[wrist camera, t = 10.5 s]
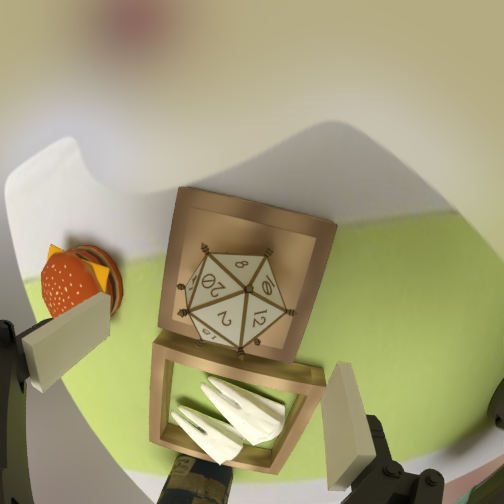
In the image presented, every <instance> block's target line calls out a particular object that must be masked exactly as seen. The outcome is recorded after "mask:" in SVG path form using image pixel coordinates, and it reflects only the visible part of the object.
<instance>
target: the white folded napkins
mask: <svg viewBox="0 0 504 504" xmlns="http://www.w3.org/2000/svg"><path fill="white" fill-rule="evenodd" d="M208 380H209V381H210V382H211V383H212V384H213V385H214V386H215V387H216V388H218V389H219V390H220V391H221V393H219V392H217V391H215V390H213V389H212V388H210V387H209V386H208V385H207V384H205V383H204V382H201V384H200V387H201V389H202V390H203V391H204V393H205V394H206V396H207V397H208V398H209V399H210V401H211V402H212V403H213V404H214V405H215V407H216V408H217V409H218V410H219V411H220V412H221V413H222V415H223V416H224V417H225V418H226V419H227V420H228V421H229V422H230V423H231V424H232V425H230V424H228V423H225V422H223V421H220V420H218V419H215V418H212V417H210V416H208V415H205V414H203V413H200V412H198V411H196V410H193V409H191V408H188V407H185V406H182V405H179V406H178V409H179V410H180V411H181V412H182V413H183V414H184V415H185V416H187V417H188V418H189V419H191V420H192V421H193V422H195V423H196V424H197V425H198V426H200V427H195V426H194V425H193V424H191V423H190V422H188V421H187V420H186V419H184V418H183V417H182V416H181V415H179V414H178V413H177V412H175V411H174V410H172V411H171V415H172V416H173V418H174V419H175V420H176V421H177V423H178V424H179V425H180V426H181V427H182V428H183V430H184V431H185V432H186V433H187V434H188V435H189V436H190V437H191V438H192V439H193V440H194V441H195V442H196V443H197V444H198V445H199V446H200V447H201V448H202V449H203V450H204V451H205V452H206V453H207V454H208V455H209V456H210V457H212V458H213V459H214V460H215V461H216V462H217V463H218V464H219V465H221V463H223V462H225V461H227V460H232V459H233V458H234V457H236V456H237V455H238V453H239V452H240V450H241V449H242V448H243V445H242V444H243V441H244V439H245V438H246V439H247V440H248V441H249V442H250V443H251V444H252V445H253V446H254V445H256V444H258V443H261V442H264V441H269V440H272V439H273V438H275V437H276V436H278V435H279V434H280V432H281V431H282V429H283V427H284V422H285V409H286V408H285V406H284V405H282V404H280V403H277V402H275V401H272V400H270V399H267V398H265V397H262V396H260V395H257V394H255V393H252V392H250V391H248V390H245V389H243V388H240V387H238V386H236V385H233V384H231V383H229V382H226V381H224V380H221V379H218V378H216V377H213V376H209V377H208Z"/></svg>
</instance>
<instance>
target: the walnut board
mask: <svg viewBox="0 0 504 504" xmlns="http://www.w3.org/2000/svg"><path fill="white" fill-rule="evenodd" d="M337 226H338V225H337V224H335V223H334V222H331V221H328V220H324V219H321V218H317V217H313V216H309V215H306V214H302V213H298V212H294V211H290V210H286V209H282V208H278V207H274V206H270V205H266V204H262V203H258V202H254V201H250V200H245V199H241V198H237V197H232V196H228V195H224V194H219V193H215V192H210V191H205V190H201V189H196V188H191V187H179V188H178V193H177V198H176V203H175V209H174V214H173V219H172V225H171V231H170V237H169V243H168V249H167V256H166V262H165V269H164V276H163V284H162V292H161V300H160V308H159V318H158V327H160V328H163V329H166V330H169V331H172V332H175V333H178V334H181V335H184V336H187V337H191V338H194V339H197V340H199V339H200V336H199V334H198V333H197V331H196V329H195V327H194V325H193V323H192V321H191V319H190V317H189V315H188V314H187V315H186V317H185V316H183V318H182V317H181V316H179V315H177V313H178V312H179V309H187V308H186V299H185V290H178V288H177V287H176V285H178V284H180V283H181V284H184V285H185V286H186V284H187V283H188V281H189V279H190V278H191V276H192V275H193V273H194V272H195V270H196V269H197V267H198V265H199V264H200V262H201V261H202V259H203V258H204V256H205V253H204V252H202V249H201V244H202V243H204V244H206V245H207V246H208V248H209V252H218V253H225V252H228V253H239V254H260V255H264V254H265V252H266V250H267V248H270V247H273V246H274V248H273V252H274V253H272V254H271V255H270V256H269V257H268V259H269V262H270V265H271V267H272V270H273V273H274V275H275V278H276V281H277V284H278V286H279V289H280V292H281V295H282V297H283V300H284V303H285V305H286V308H287V309H288V310H289V309H291V310H294V309H295V311H296V312H297V313H298V314H297V315H295V316H293V317H292V316H289V315H288V314H285V315H284V316H283V317H282V318H280V319H279V320H278V321H277V322H276V323H275V324H273V325H272V326H271V327H270V328H269V329H268V330H266V331H265V332H264V333H263V334H262V335H261V336H259V337H258V339H260V341H261V343H260V346H257V345H255V343H254V341H253V342H252V343H250V344H249V345H247V346H246V347H245V348H243V350H244V352H245V353H248V354H252V355H256V356H260V357H264V358H268V359H273V360H277V361H282V362H286V363H291V364H293V362H294V359H295V357H296V354H297V351H298V348H299V346H300V343H301V340H302V337H303V334H304V332H305V329H306V326H307V323H308V320H309V317H310V314H311V311H312V308H313V305H314V302H315V299H316V296H317V293H318V290H319V287H320V284H321V280H322V277H323V274H324V271H325V267H326V264H327V261H328V257H329V254H330V251H331V247H332V244H333V240H334V236H335V233H336V229H337ZM204 342H207V341H204ZM207 343H210V342H207ZM211 344H214V343H211ZM214 345H218V344H214ZM218 346H221V347H225V348H229V349H232V350H236V351H238V349H235V348H231V347H227V346H222V345H218Z"/></svg>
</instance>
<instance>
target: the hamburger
mask: <svg viewBox="0 0 504 504" xmlns="http://www.w3.org/2000/svg"><path fill="white" fill-rule="evenodd" d="M41 285H42V297H43V299H44V301H45V304H46V306H47V308H48V310H49V312H50V314H51V316H52V317H53V318H54V319H55V318H56V317H58V316H60V315H61V314H63V313H65V312H67V311H68V310H70V309H72V308H73V307H75V306H77V305H78V304H80V303H82V302H84V301H85V300H87V299H89V298H91V297H92V296H94V295H96V294H98V293H99V292H102V293H105V294H107V295H110V296H111V302H110V317H111V316H112V315H113V314H114V313H115V312H116V310H117V309H118V308H119V307H120V303H121V300H122V296H123V289H122V279H121V276H120V274H119V271H118V269H117V266H116V265H115V263H114V262H113V261H112V260H111V258H110V257H109V256H108V255H107V253H105V252H104V251H102V250H100V249H99V248H97V247H95V246H86V245H82V246H79V247H77V248H75V249H70V250H68V251H66V252H65V251H63V250H61V249H60V248H58V247H56V246H54V245H52V244H51V245H50V248H49V253H48V259H47V263H46V265H45V267H44V268H43V270H42V272H41ZM105 340H106V339H105Z"/></svg>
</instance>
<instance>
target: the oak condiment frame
mask: <svg viewBox="0 0 504 504" xmlns="http://www.w3.org/2000/svg"><path fill="white" fill-rule="evenodd" d="M195 342H197V339H194V338H191V337H187V336H184V335H181V334H178V333H175V332H172V331H169V330H166V329H164V330H163V331H162V332H161V333H160V334H159V336H158V337H157V338H156V339H155V340H154V342H153V346H152V360H151V378H150V406H149V441H150V442H152V443H155V444H158V445H160V446H163V447H166V448H169V449H172V450H175V451H178V452H181V453H184V454H187V455H190V456H193V457H197V458H200V459H204V460H208V461H211V462H215V463H217V462H216V461H215V460H214V459H213V458H212V457H210V456H209V455H208V454H207V453H206V452H205V451H204V450H203V449H202V448H201V447H200V446H199V445H198V444H197V443H196V442H195V441H194V440H193V439H192V438H191V437H190V436H189V435H188V434H187V433H186V432H185V431H184V430H183V428H181V427H178V426H175V425H172V424H169V423H168V414H169V403H170V392H171V382H172V373H173V364H174V362H176V363H179V364H182V365H185V366H189V367H192V368H195V369H198V370H202V371H205V372H208V373H212V374H215V375H219V376H222V377H226V378H230V379H234V380H238V381H241V382H245V383H250V384H254V385H258V386H262V387H267V388H271V389H276V390H281V391H286V392H291V393H296V394H298V396H297V398H296V400H295V403H294V405H293V407H292V409H291V411H290V413H289V416H288V418H287V420H286V422H285V424H284V427H283V429H282V431H281V432H280V434H279V436H278V438H277V440H276V442H275V444H274V446H273V448H272V450H269V449H263V448H258V447H253V446H248V445H243V444H242V445H243V448H242V449H241V450H240V452H239V453H238V455H237V456H236V457H234V458H233V459H232V460H227V461H225V462H223V463H221V464H223V465H227V466H232V467H236V468H241V469H246V470H251V471H256V472H262V473H268V474H274V475H278V474H279V472H280V470H281V469H282V467H283V466H284V464H285V462H286V461H287V459H288V457H289V456H290V454H291V453H292V451H293V449H294V447H295V446H296V444H297V442H298V441H299V439H300V437H301V435H302V433H303V432H304V430H305V428H306V426H307V424H308V423H309V421H310V419H311V417H312V415H313V413H314V411H315V409H316V407H317V405H318V404H319V402H320V398H321V396H322V394H323V392H324V390H325V388H326V381H325V375H324V370H323V368H320V367H314V366H309V365H304V364H299V363H294V362H293V364H291V363H286V362H282V361H277V360H273V359H268V358H264V357H260V356H256V355H252V354H248V353H244V354H245V357H244V359H243V361H242V360H241V359H240V358H239V357H237V355H238V354H237V352H238V351H236V350H232V349H229V348H225V347H221V346H218V345H214V344H211V343H207V342H204V341H203V344H202V347H201V346H200V347H196V343H195Z"/></svg>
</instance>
